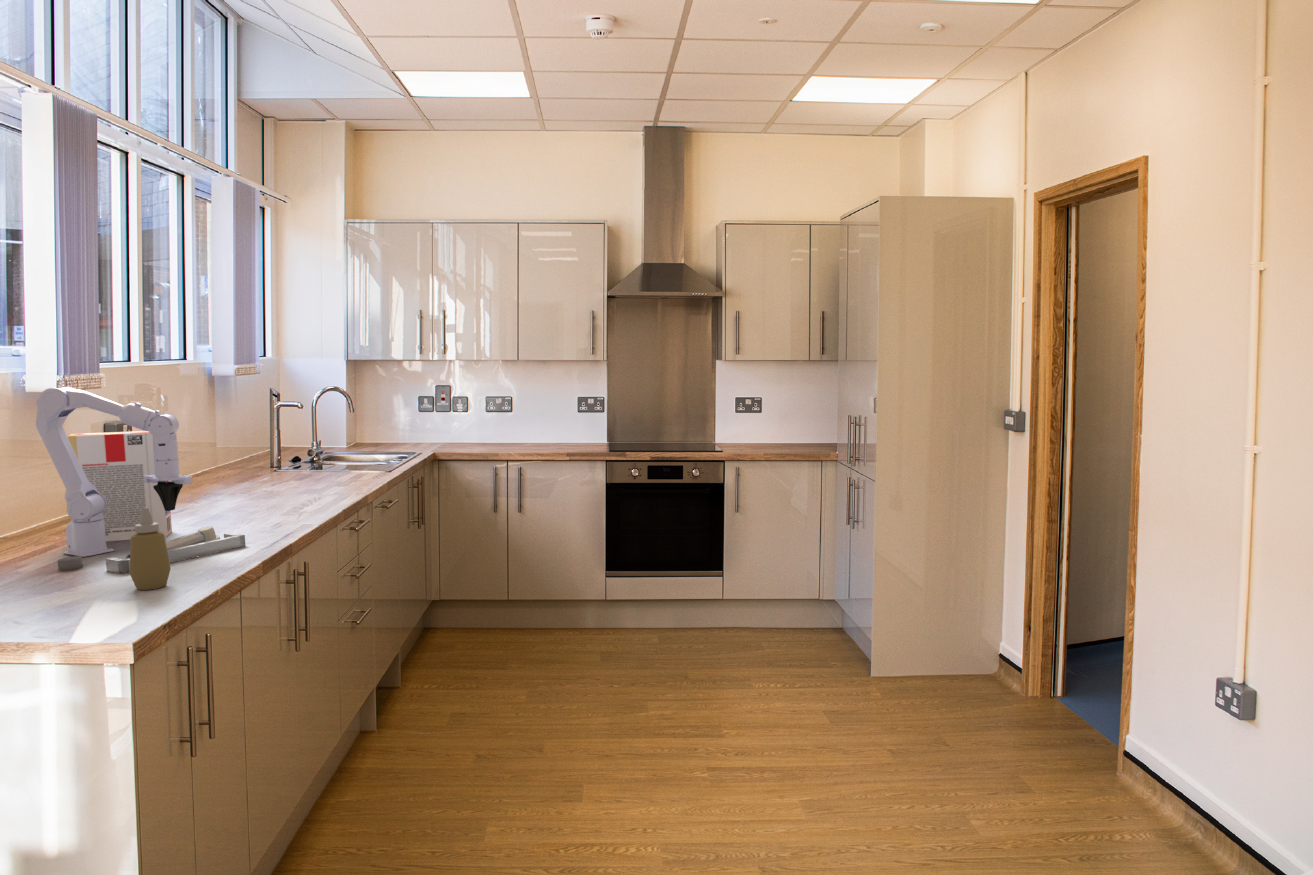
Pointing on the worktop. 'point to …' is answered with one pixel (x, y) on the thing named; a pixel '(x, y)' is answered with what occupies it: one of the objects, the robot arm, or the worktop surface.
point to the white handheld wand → (192, 539)
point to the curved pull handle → (184, 552)
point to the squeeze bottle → (148, 555)
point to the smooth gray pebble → (70, 563)
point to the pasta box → (122, 479)
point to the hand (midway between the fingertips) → (169, 510)
